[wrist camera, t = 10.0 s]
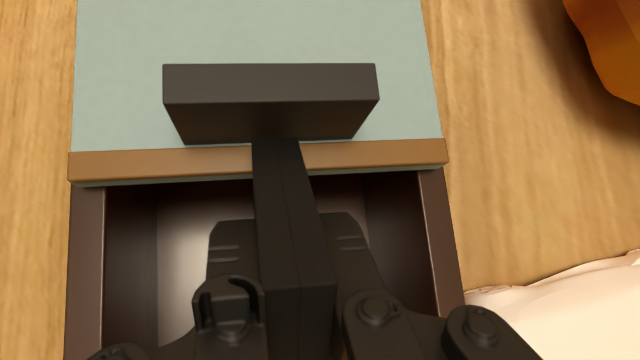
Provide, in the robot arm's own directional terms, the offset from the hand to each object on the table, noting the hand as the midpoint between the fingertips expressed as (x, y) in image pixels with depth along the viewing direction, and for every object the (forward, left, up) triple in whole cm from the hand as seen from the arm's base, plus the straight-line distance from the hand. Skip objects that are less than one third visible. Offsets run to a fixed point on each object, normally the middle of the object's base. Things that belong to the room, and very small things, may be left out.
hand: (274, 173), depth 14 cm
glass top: (0, +9, -1) cm, 9 cm away
